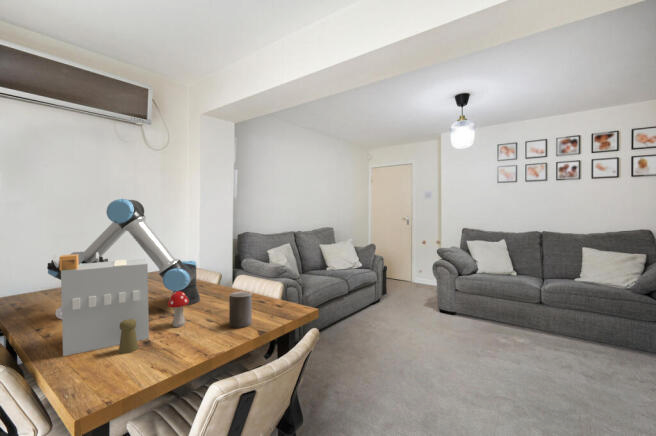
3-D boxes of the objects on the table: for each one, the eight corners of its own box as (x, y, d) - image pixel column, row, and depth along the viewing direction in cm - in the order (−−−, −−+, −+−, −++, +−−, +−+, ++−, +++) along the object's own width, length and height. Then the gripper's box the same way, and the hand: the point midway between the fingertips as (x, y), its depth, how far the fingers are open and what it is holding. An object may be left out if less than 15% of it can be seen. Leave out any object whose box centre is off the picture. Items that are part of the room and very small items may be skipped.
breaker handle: (71, 260, 127) (71, 249, 127) (85, 259, 129) (85, 248, 129) (59, 270, 105) (59, 256, 105) (76, 269, 108) (76, 255, 107)
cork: (124, 346, 113) (124, 317, 113) (141, 345, 114) (141, 316, 114) (114, 354, 107) (114, 323, 107) (132, 353, 108) (132, 322, 108)
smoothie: (83, 308, 153) (70, 315, 140) (70, 316, 151) (56, 324, 138) (75, 298, 152) (61, 304, 139) (62, 306, 150) (46, 313, 137)
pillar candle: (231, 329, 129) (231, 295, 128) (227, 322, 137) (227, 289, 137) (254, 326, 133) (254, 292, 133) (249, 319, 142) (249, 287, 142)
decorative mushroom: (169, 322, 138) (168, 289, 137) (189, 319, 141) (189, 287, 141) (166, 330, 129) (166, 295, 128) (189, 327, 132) (188, 293, 132)
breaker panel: (70, 340, 119) (68, 264, 119) (146, 326, 134) (145, 258, 133) (62, 357, 105) (60, 270, 105) (149, 339, 120) (147, 263, 119)
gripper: (47, 270, 134) (36, 250, 119) (115, 264, 148) (113, 246, 132) (46, 286, 131) (33, 268, 116) (115, 278, 145) (113, 262, 129)
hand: (76, 256), depth 124 cm, fingers open, 13 cm apart
